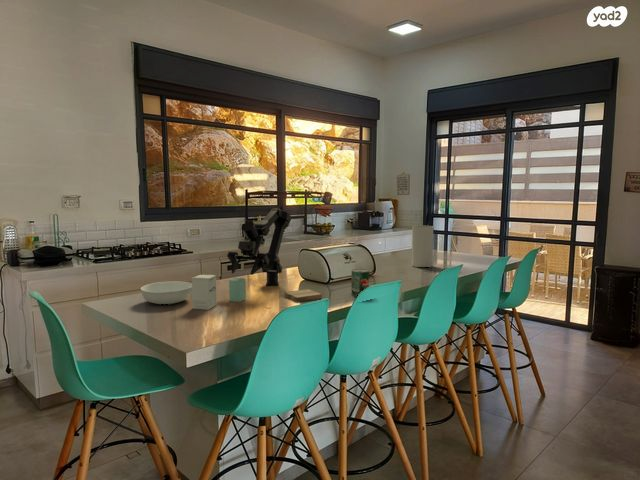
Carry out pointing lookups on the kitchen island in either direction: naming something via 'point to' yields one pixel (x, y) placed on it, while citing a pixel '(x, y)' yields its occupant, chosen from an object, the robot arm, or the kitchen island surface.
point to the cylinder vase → (422, 246)
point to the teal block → (237, 289)
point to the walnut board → (303, 295)
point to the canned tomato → (359, 280)
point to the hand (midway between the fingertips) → (241, 273)
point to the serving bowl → (167, 292)
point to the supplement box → (204, 292)
